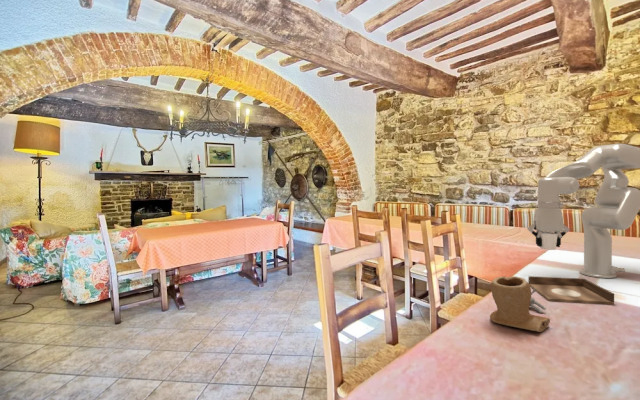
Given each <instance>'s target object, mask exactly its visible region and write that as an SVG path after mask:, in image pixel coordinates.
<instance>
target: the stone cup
mask: <svg viewBox="0 0 640 400" xmlns="http://www.w3.org/2000/svg"><path fill="white" fill-rule="evenodd" d="M490 289H491V294H492V295H491V296H492V298H493V300H494V303H495V305H496V309H497V310H494V311H493V312H491V313H490V314H489V318H490V320H491V321H492V322H493V323H496V324H499V325H504V326H506V327H513V328H517V329H522V330H527V331H533V332H539V333H541V332H543V331H545V330H546V329H547V328H548V326H550V322H551V319H550V318H549V317H543V316H539V315H534V314H531V313H530V307H531V306H530V301H531V297H532V295H531V292H532V288H531V287H530V285H529V281H528V280H526V279H525V278H523V277H521V276H515V275H514V276H513V275H512V276H498V277H496V278H494V279H492V281H491V282H490Z"/></svg>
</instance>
